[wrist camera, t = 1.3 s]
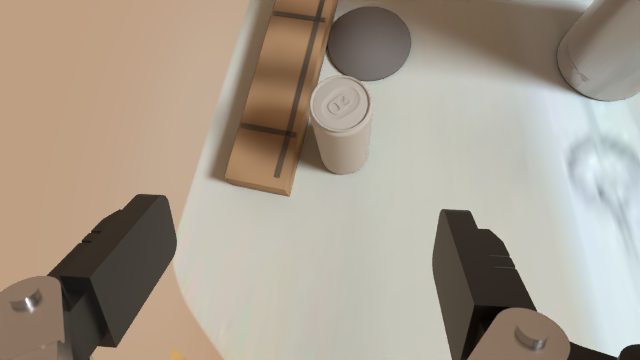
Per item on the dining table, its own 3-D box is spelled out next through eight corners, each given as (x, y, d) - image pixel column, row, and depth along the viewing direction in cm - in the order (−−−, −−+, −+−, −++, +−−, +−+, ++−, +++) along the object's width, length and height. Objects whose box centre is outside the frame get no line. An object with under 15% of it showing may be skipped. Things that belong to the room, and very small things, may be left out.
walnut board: (288, -11, 47) (284, -31, 44) (339, -4, 46) (337, -24, 43) (233, 185, 41) (224, 177, 38) (289, 196, 40) (284, 189, 37)
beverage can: (377, 156, 41) (387, 105, 29) (341, 186, 40) (335, 146, 29) (347, 123, 42) (344, 61, 30) (311, 151, 41) (294, 100, 30)
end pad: (391, -2, 45) (391, -5, 45) (423, 64, 43) (423, 62, 42) (316, 25, 45) (316, 22, 45) (344, 92, 43) (344, 90, 42)
